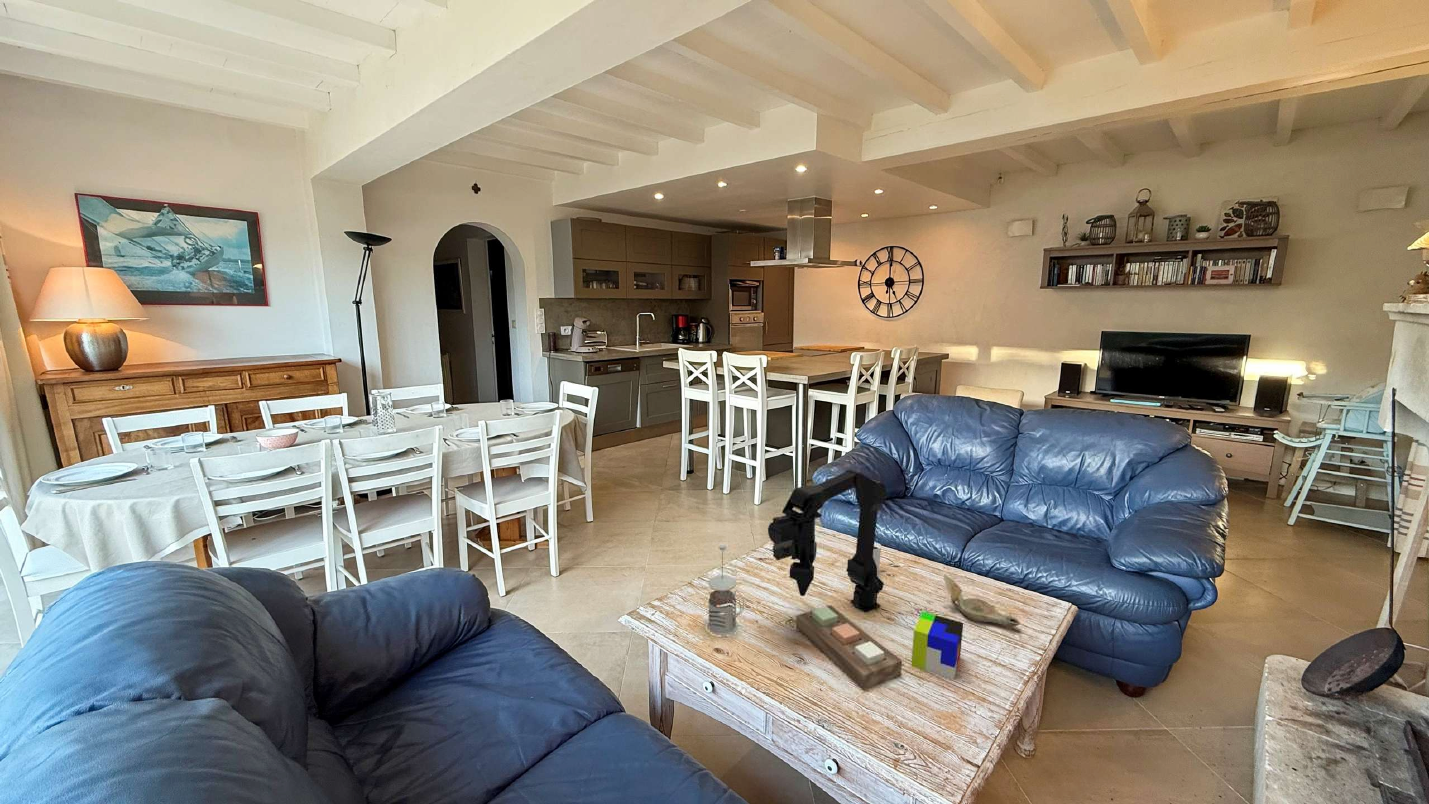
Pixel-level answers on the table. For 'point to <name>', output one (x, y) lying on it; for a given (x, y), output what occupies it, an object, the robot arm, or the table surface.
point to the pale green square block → (824, 617)
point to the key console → (849, 651)
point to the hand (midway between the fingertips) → (803, 586)
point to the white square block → (869, 653)
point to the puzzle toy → (937, 644)
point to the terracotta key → (845, 634)
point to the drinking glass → (877, 555)
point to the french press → (721, 596)
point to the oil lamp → (977, 607)
